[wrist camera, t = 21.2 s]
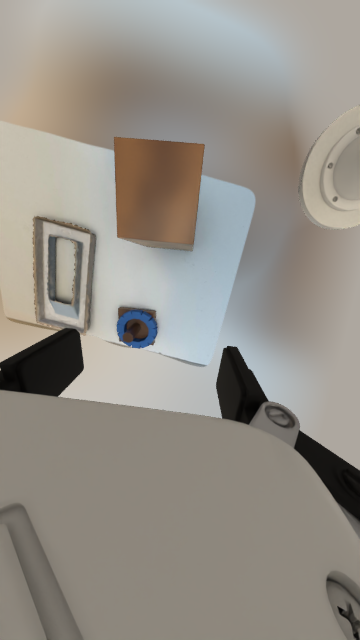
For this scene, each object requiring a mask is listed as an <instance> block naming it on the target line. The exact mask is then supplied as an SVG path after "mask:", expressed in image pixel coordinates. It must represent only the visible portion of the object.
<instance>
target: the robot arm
mask: <svg viewBox="0 0 360 640" xmlns="http://www.w3.org/2000/svg"><path fill="white" fill-rule="evenodd" d="M320 190H321V194H322V197H323V199H324V201H325V202H326V203H327V204H328V205H329V206H330V207H331V208H333V209H335V210H338V211H353V210H357V209H360V125H359V126H357V127H355V128H354V129H352V130H351V131H349V132H348V133H347V134H346V135H344V136H343V137H342V138H341V139H340V140H339V141H338V142H337V143H336V144H335V145H334V147H333V148H332V149H331V151H330V152H329V154H328V156H327V158H326V160H325V162H324V164H323V167H322V170H321V175H320ZM0 368H1V371H0V640H360V471H359V470H358V469H356V468H355V467H354V466H352V465H350V464H349V463H347V462H346V461H345V460H343V459H342V458H340V457H339V456H337V455H336V454H334V453H333V452H331V451H330V450H328V449H327V448H325V447H324V446H322V445H321V444H319V443H318V442H316V441H315V440H313V439H312V438H310V437H309V436H307V435H306V434H304V433H303V432H301V431H300V430H299V428H300V424H299V421H298V419H297V417H296V416H295V415H294V414H293V413H292V412H291V411H290V410H289V409H288V408H286V407H284V406H283V405H281V404H279V403H275V402H269V401H268V399H267V398H266V396H265V394H264V392H263V390H262V388H261V387H260V385H259V383H258V381H257V379H256V377H255V376H254V374H253V372H252V371H251V370H250V369H248V367H247V365H246V363H245V361H244V359H243V357H242V355H241V354H240V352H239V350H238V348H237V347H232V346H227V348H224V349H223V354H222V359H221V363H220V368H219V373H218V377H217V382H216V389H217V394H218V398H219V404H220V409H221V414H222V419H221V418H215V417H209V416H203V415H196V414H188V413H181V412H173V411H165V410H158V409H150V408H142V407H134V406H126V405H118V404H110V403H102V402H95V401H86V400H79V399H71V398H63V397H58V396H59V395H60V394H61V393H62V392H63V391H64V390H65V388H67V387H68V386H69V385H70V384H71V383H72V381H73V380H74V379H75V378H76V377H77V376H78V375H79V374H80V373H81V372H82V371H83V369H84V364H83V356H82V348H81V340H80V333H79V332H78V331H77V329H73V328H64V329H62V330H60V331H58V332H57V333H55V334H53V335H51V336H49V337H47V338H45V339H43V340H41V341H40V342H38V343H36V344H34V345H32V346H30V347H28V348H27V349H25V350H23V351H21V352H19V353H17V354H15V355H13V356H12V357H10V358H8V359H6V360H4V361H2V362H1V363H0ZM326 581H327V582H326Z"/></svg>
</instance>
